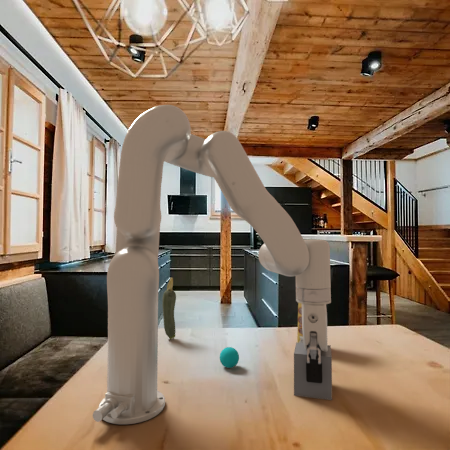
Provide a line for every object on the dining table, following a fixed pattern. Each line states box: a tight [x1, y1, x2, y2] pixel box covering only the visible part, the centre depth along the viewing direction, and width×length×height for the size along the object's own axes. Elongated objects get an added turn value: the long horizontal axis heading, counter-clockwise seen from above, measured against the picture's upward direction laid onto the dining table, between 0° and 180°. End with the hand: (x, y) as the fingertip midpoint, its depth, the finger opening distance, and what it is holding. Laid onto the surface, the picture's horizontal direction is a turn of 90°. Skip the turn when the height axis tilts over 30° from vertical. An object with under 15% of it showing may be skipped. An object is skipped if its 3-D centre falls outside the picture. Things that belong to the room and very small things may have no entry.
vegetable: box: [161, 277, 177, 340], centre depth 110 cm, size 4×4×20 cm
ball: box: [219, 346, 240, 369], centre depth 87 cm, size 5×5×5 cm
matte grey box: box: [293, 341, 333, 401], centre depth 74 cm, size 8×8×9 cm
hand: (314, 372), depth 74 cm, fingers open, 9 cm apart
